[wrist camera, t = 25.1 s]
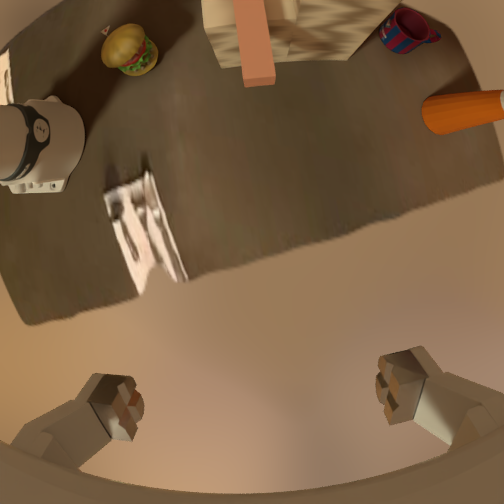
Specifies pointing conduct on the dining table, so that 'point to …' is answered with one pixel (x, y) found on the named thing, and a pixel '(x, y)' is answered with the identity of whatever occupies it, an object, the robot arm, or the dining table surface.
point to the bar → (254, 43)
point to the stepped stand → (299, 28)
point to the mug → (406, 31)
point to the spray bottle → (462, 110)
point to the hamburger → (129, 50)
